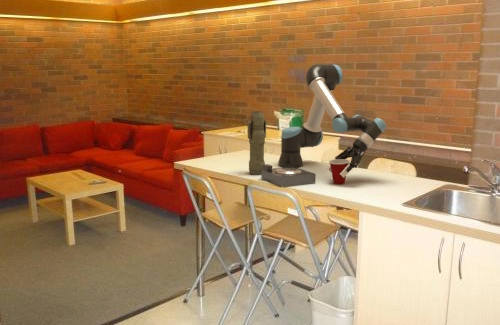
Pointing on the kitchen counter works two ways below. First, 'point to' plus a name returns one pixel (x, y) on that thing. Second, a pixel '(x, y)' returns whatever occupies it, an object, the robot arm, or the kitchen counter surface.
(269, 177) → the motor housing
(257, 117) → the brown tall upright piece
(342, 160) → the plastic cup
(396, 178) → the kitchen counter surface
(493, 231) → the kitchen counter surface
